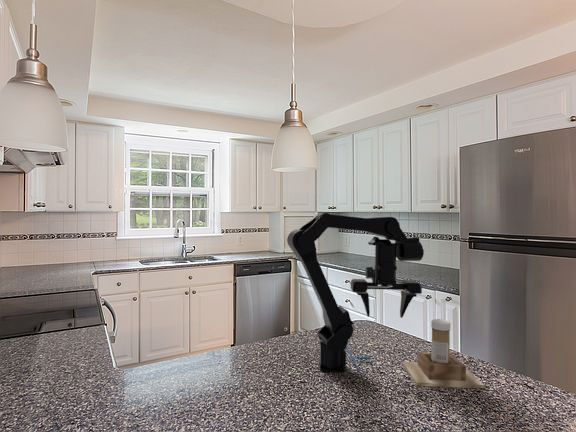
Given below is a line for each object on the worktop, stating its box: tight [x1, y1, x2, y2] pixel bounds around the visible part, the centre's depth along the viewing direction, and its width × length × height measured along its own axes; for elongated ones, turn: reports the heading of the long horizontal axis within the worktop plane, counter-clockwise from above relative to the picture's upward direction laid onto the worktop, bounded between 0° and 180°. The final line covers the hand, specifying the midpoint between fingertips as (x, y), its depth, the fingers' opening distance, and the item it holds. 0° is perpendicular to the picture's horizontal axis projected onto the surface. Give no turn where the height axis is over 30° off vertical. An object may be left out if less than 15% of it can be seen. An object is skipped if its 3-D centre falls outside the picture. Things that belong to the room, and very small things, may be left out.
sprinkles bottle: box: [430, 318, 451, 364], centre depth 94 cm, size 5×5×14 cm
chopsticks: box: [346, 346, 372, 373], centre depth 107 cm, size 1×25×5 cm
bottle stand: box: [402, 351, 485, 389], centre depth 94 cm, size 16×13×4 cm
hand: (384, 316), depth 102 cm, fingers open, 9 cm apart
